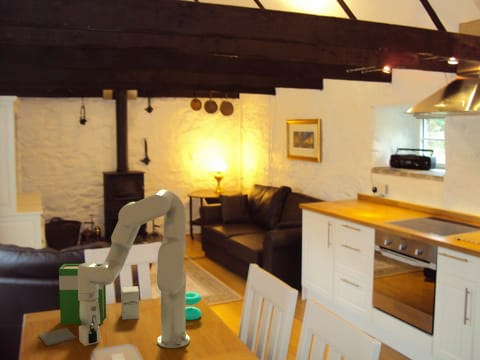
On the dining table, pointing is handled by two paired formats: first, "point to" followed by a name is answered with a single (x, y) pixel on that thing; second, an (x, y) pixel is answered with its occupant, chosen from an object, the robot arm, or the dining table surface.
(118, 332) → the dining table surface
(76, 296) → the hardback book
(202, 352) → the dining table surface
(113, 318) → the dining table surface
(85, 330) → the painted cube
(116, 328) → the dining table surface
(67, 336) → the charcoal mat
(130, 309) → the supplement box
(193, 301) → the donuts
